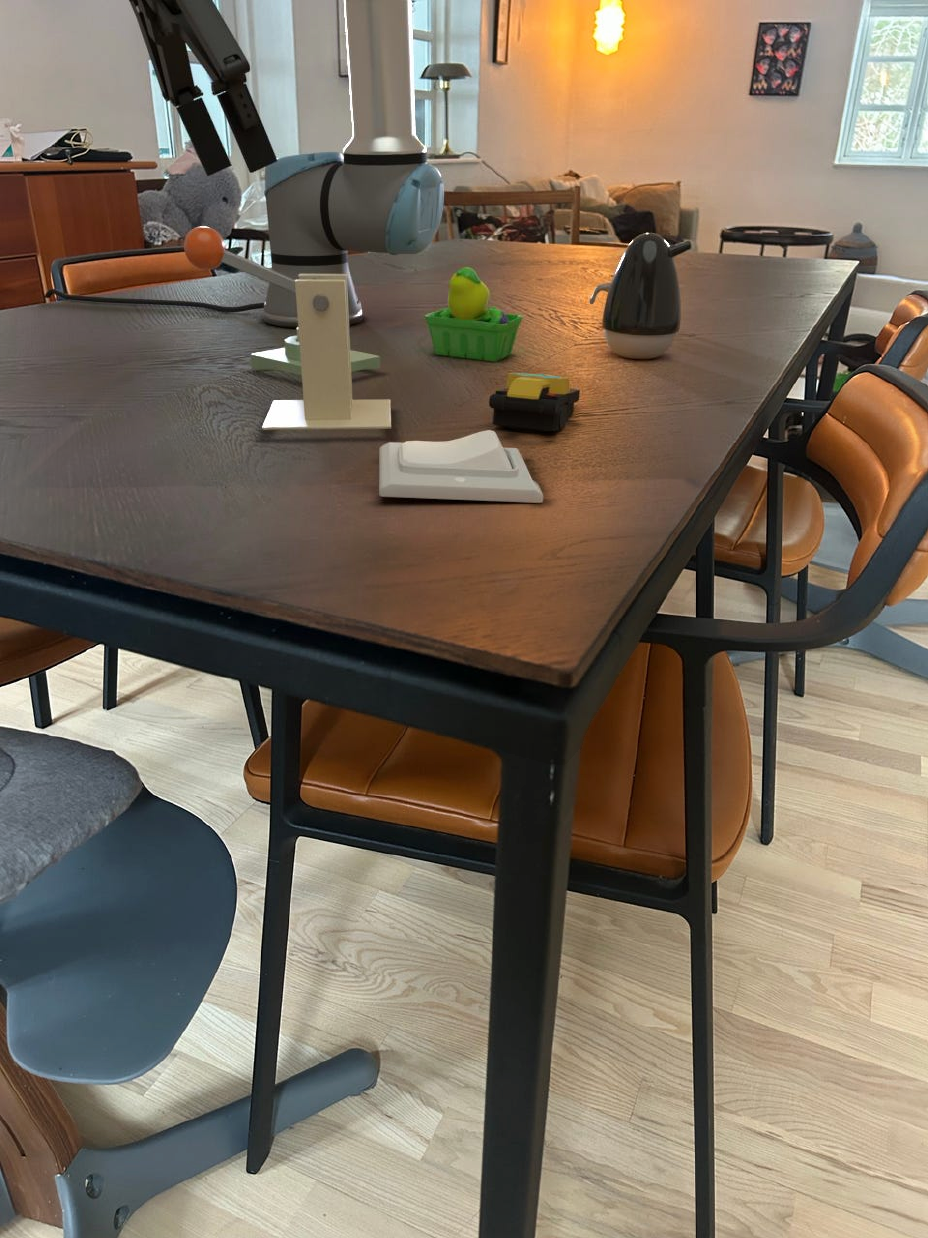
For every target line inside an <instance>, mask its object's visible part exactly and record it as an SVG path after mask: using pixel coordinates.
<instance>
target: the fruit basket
mask: <svg viewBox="0 0 928 1238" xmlns="http://www.w3.org/2000/svg"><path fill="white" fill-rule="evenodd" d="M448 285H449V291H448V295H447V296H448V297H447V306H448V307H447V308H442V309H439V310H437V311H433V312H430V313H427V314H425V315H424V318H425V322H426V324H427V325H428V329H429V334H430V337H431V338H430V339H431V341H432V347H433V350H434V354H435V355H437V356H444V357H445V356H446V357H447V356H448V357H453V358H462V359H470V360H478V361H485V362H496V363H497V362H498V361H500V360H503V359H505V358H507V357H508V356H510V355H512V352H513V349H514V345H515V342H516V338H517V334H518V331H519V327H520V325H521V323H522V321H523V318H524V317H523V315H521V314H517V313H516V314H514V313H507V312H506V313H504V311H502V310H501V309H498V308H497V307H496V306H495V305H494V306H491V307H490V308H488V305H489V301H490V296H491V291H490V290H489V288H488V287H487V285H486V284H485V283H484V282H483V281H482V280H481V279H480V278H479V277H478V274H477V273H476V271H475V270H474V269H473V268H472V267H469V266H464V267H462V268H460V270H457V271H456V272H455V273H454V274H453V275H452V276H451V278H450V280H449V284H448Z"/></svg>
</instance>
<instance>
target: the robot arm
mask: <svg viewBox="0 0 928 1238" xmlns="http://www.w3.org/2000/svg"><path fill="white" fill-rule="evenodd" d="M128 2H129V4H130V6H131V9H132V11H133V13H134V15H135V17H136V20H137V23H138V26H139V28H140V32H141V35H142V38H143V42H144V44H145V46H146V50H147V54H148V56H149V59H150V62H151V65H152V68H153V71H154V74H155V77H156V79H157V83H158V85H159V86H158V87H159V89H160V92H161V96H162V98H163V99H164V100H165V101H166V102H167V103H168V102H170V103H171V104H172V106H173V107H174V108H175V109H176V111H177V113H178V116H179V118H180V120H181V122H182V124H183V126H184V128H185V131H186V133H187V135H188V137H189V140H190V142H191V144H192V146H193V148H194V151H195V153H196V155H197V157H198V159H199V162H200V164H201V166H202V168H203V170H204V172H205V174H206V177H211V176H212V175H214V174H218V173H219V172H221V171H223V170H225V169H228V168H230V167H232V166H233V165H232V163H231V160H230V157H229V156H228V154H227V151H226V148H225V146H224V144H223V142H222V139H221V138H220V135H219V133H218V131H217V129H216V126H215V124H214V122H213V119H212V117H211V115H210V112H209V110H208V108H207V105H206V104H205V101H204V98H203V97H202V96H204V92H203V90H202V89H201V87H199V86H198V84H197V85H196V84H195V81H194V76H193V71H192V67H191V62H190V58H189V57H190V56H189V52H188V48H189V50H190V51H191V52H192V54H193V56H194V57H195V58H196V60H197V61H198V63H199V64H200V65H201V67H202V69H204V71H205V73H207V75H208V77H209V78H210V80H211V81H210V90H211V95H212V96H216V98H217V100H218V102H219V104H220V105H219V106H220V107H221V109H222V112H223V113H224V116H225V118H226V121H227V123H228V126H229V128H230V130H231V133H232V135H233V137H234V140H235V142H236V144H237V147H238V148H239V151H240V153H241V156H242V158H243V160H244V162H245V165H246V167H247V169H248V172H249V173H250V174H253V173H255V172H257V171H259V170H260V171H261V169H264V191H263V195H264V197H265V205H266V217H267V228H268V240H269V251H270V260H271V262H270V263H271V269H272V270H274V271H277V272H279V273H281V274H284V275H286V276H288V277H291V278H293V279H295V280H296V279H299V274H347V292H348V314H349V326H350V325H355V324H358V323H360V322H361V321H362V320H363V309H362V304H361V301H360V300H358V294H357V290H356V287H355V284H354V281H353V278H352V275H351V272H350V267H349V256H348V255H349V254H348V253H349V252H363V253H379V254H389V255H390V256H398V255H416V254H420V253H421V252H423V251H425V250H426V249H427V248H428V247H429V246H430V245H431V243H432V242H433V240H434V239H435V237H436V234H437V232H438V230H439V227H440V224H441V220H442V216H443V210H444V201H445V190H444V183H443V181H442V175H441V173H440V171H439V169H438V168H437V167H435V166H434V165H432V164H431V163H428V153H427V147H426V146H425V144H423V143H422V142H421V141H420V140H419V139H418V137H417V135H416V118H415V115H416V114H415V89H414V86H415V85H414V55H413V29H412V27H413V26H412V25H413V24H412V0H343V4H344V18H345V32H346V33H345V35H346V50H347V67H348V80H349V95H350V111H351V112H350V113H351V123H352V124H351V125H352V126H351V127H352V137H351V139H350V140H349V141H348V143H347V144H346V145H345V147H344V148H343V149H342V152H339V151H324V152H323V151H321V152H313V153H312V152H311V153H302V154H295V155H288V156H287V155H286V156H281V157H277V156H276V154H275V151H274V149H273V146H272V144H271V141H270V138H269V136H268V134H267V131H266V129H265V127H264V124H263V121H262V119H261V117H260V115H259V111H258V109H257V106H256V104H255V102H254V100H253V97H252V95H251V93H250V90H249V87H248V84H247V81H248V79H247V75H246V74H247V73H250V72H251V65H250V62H249V60H248V59H247V57H246V55H245V54H244V52H243V50H242V48H241V47H240V45H239V43H238V41H237V40H236V37H235V36H234V35H233V33H232V31H231V30H230V28H229V26H228V24H227V22H226V20H225V19H224V17H223V16H222V14H221V13H220V10H219V9H218V7H217V5H216V4H215V2H214V0H128ZM52 295H56V296H58V297H60V298H61V299H64V300H69V301H70V300H71V301H79V302H90V303H91V302H92V303H102V304H103V303H105V304H124V305H126V304H127V305H152V306H172V307H173V306H174V307H190V308H200V309H201V308H202V309H207V310H212V311H217V312H223V313H241V312H247V311H253V310H259V309H262V311H263V320H264V322H266V323H267V324H269V325H273V326H277V327H283V328H284V327H285V328H295V329H297V328H298V316H297V302H296V293H293V292H291V291H289V290H286V289H284V288H281V287H279V286H277V285H274V284H272V283H269V282H268V286H267V291H266V297H265V301H264V302H258V303H249V304H245V305H239V306H224V305H218V304H213V303H209V302H208V303H207V302H200V301H191V300H190V301H189V300H173V299H153V298H152V299H151V298H150V299H149V298H127V297H126V298H123V297H122V298H121V297H105V296H104V297H103V296H90V295H78V294H69V293H65V292H63V291H61V290H59V289H57V288H49V289H48V291H46V293H45V294H44V296H43V298H44V299H50V298H51V297H52Z"/></svg>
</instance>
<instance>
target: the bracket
mask: <svg viewBox="0 0 928 1238" xmlns="http://www.w3.org/2000/svg"><path fill="white" fill-rule="evenodd" d="M313 278H315V279H313ZM317 279H318V280H317ZM295 289H296V302H297V316H298V330H299V344H300V358H301V371H302V376H301V382H302V384H301V385H302V395H303V396H302V399H280V400H278V399H273V400H272V402H271V405H270V407H269V410H268V413H267V415H266V417H265V419H264V422H263V424H262V426H261V430H262V431H272V430H273V431H274V430H276V431H279V430H281V431H285V430H289V431H291V430H384V429H385V430H389V429H392V411H391V399H389V398H388V399H353V381H352V379H353V378H352V372H351V357H350V350H351V338H350V325H349V314H348V292H347V274H299V279H296V280H295Z"/></svg>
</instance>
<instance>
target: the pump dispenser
mask: <svg viewBox="0 0 928 1238" xmlns="http://www.w3.org/2000/svg"><path fill="white" fill-rule="evenodd" d="M692 247H693V246H692V242H691V241H690V240H686V241H683V242H679V243H676V244H673V245H669V243H668V242H667V241H666V239H665V238H664V237H663V236H661V235H659V234H658V233H654V232H646V233H642V234H639V235H638V236H636V237H635V238H633V239H632V241H631V242H630V243H629V244H628V245H627V247H626V249H625V250H624V252H623V254H622V256H621V258H620V260H619V262H618V264H617V266H616V269H615V271H614V274H613V276H612V279H611V282H610V283H611V284H610V287H609V291H608V292H607V295H606V299H605V303H604V309H603V314H602V319H601V320H602V321H601V327H602V328H603V331H604V338H605V341H606V344H607V345H608V347H609V349H610V350H611V351H612V352H613V353H615V355H618V356H620V357H622V358H624V359H625V358H626V359H633V360H650V359H651V360H652V359H655V358H657V357H660V356H662V355H663V354H665V353H666V352H667V351H668V350H669V349H670V347H671V346H672V345H673V343H674V341H675V338H676V336H677V333H678V332H679V331H680V328H681V320H682V319H681V317H682V315H681V313H682V311H681V309H682V308H681V307H682V306H681V302H682V301H681V289H680V282H679V274H678V270H677V266H676V262H675V257H677V256H679V255H682V254H683V253H685V252H688V251H690V250H691V249H692Z"/></svg>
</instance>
